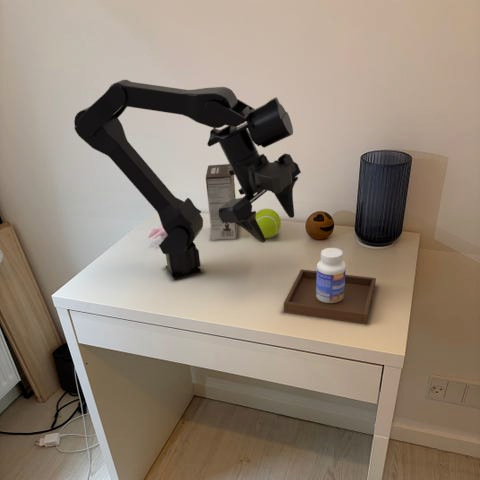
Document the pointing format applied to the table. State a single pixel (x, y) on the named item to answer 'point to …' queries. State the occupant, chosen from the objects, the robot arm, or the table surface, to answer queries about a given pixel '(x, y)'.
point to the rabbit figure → (157, 232)
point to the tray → (347, 309)
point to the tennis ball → (268, 222)
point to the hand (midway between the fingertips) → (278, 229)
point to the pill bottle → (330, 276)
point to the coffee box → (220, 199)
